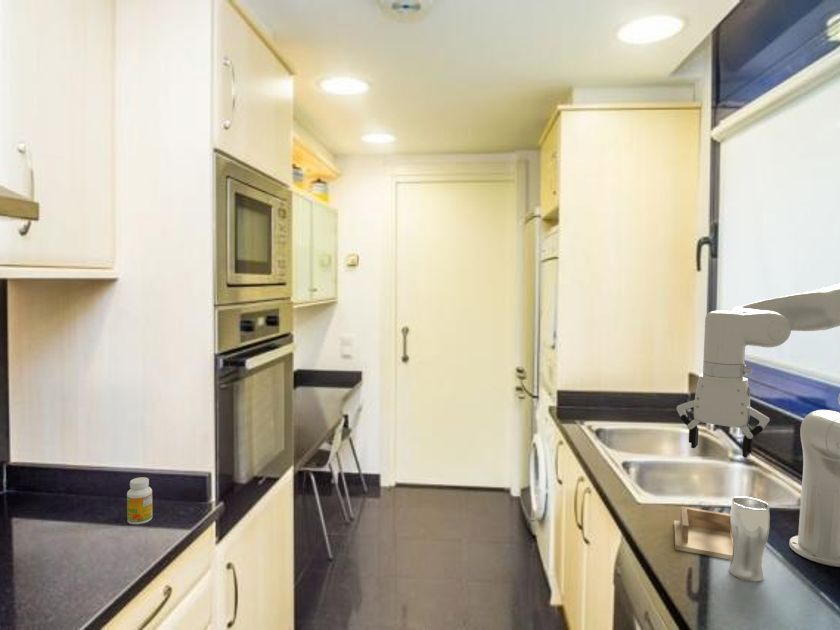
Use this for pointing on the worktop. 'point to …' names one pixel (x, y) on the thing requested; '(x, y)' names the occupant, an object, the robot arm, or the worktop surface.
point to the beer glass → (748, 537)
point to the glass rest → (703, 533)
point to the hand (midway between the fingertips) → (719, 451)
